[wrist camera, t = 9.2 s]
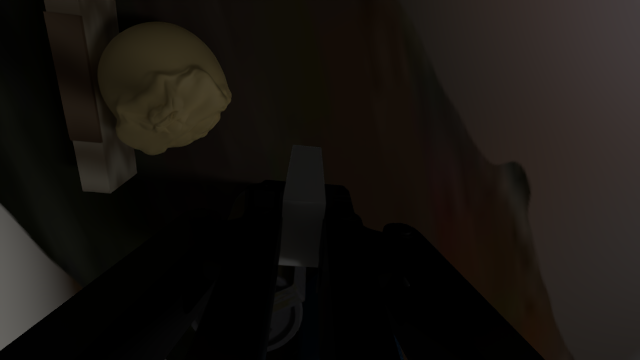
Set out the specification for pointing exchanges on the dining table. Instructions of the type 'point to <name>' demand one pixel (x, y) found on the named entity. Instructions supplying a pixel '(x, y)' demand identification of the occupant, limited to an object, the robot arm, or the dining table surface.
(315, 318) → the wine bottle
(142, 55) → the sculpture
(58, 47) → the board
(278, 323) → the canister
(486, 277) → the dining table surface
